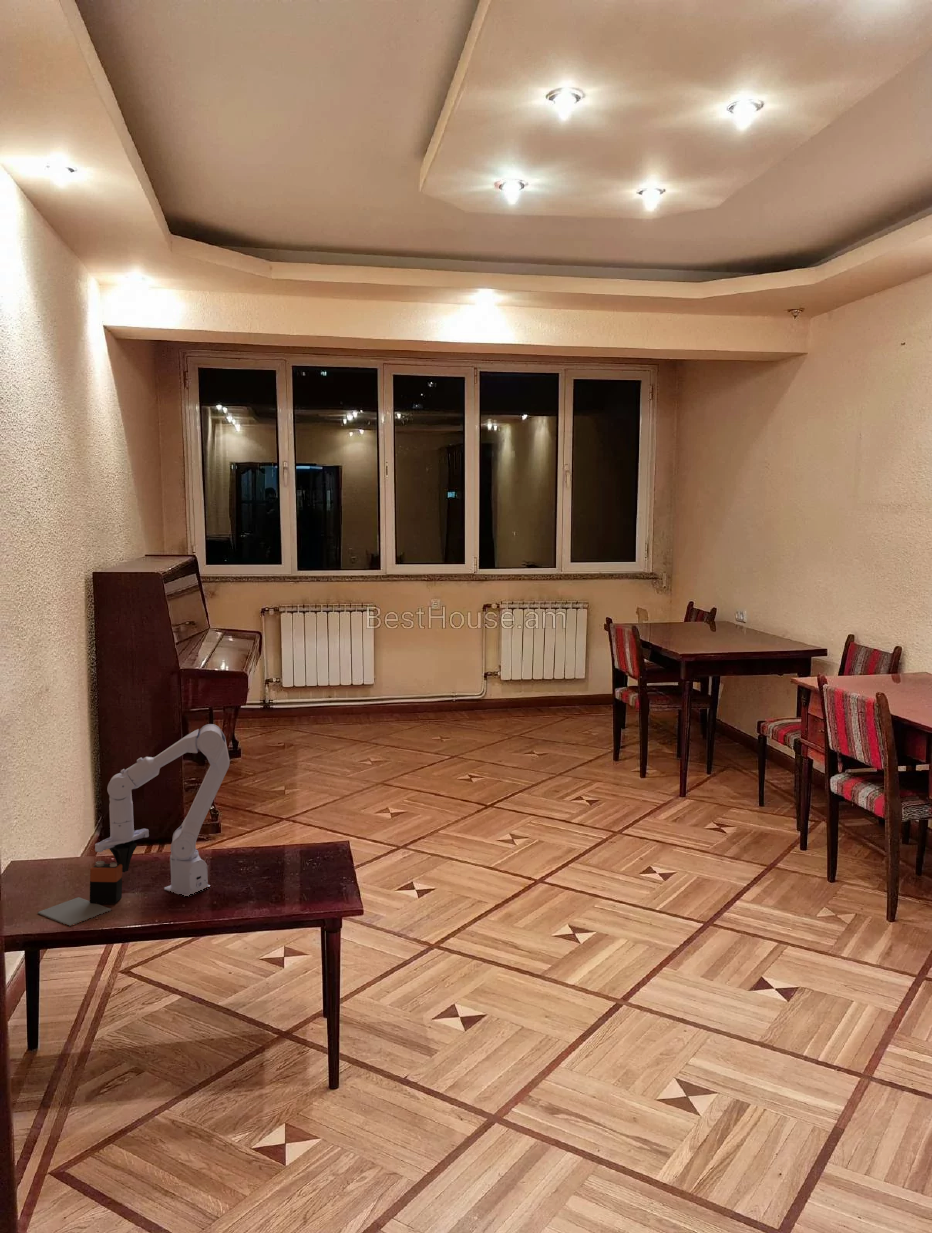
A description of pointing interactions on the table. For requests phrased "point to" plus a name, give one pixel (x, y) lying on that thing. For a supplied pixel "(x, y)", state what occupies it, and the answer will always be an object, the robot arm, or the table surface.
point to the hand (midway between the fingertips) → (123, 870)
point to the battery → (106, 883)
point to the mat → (74, 911)
